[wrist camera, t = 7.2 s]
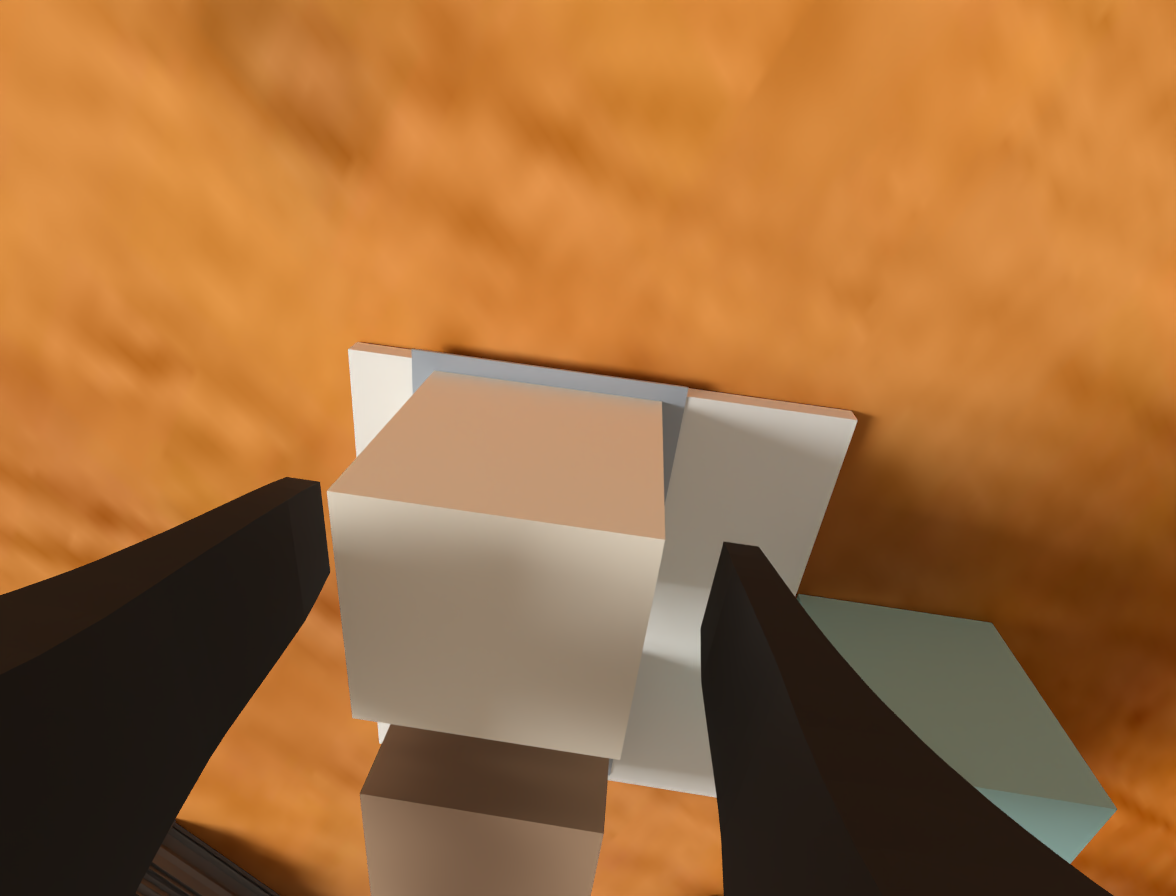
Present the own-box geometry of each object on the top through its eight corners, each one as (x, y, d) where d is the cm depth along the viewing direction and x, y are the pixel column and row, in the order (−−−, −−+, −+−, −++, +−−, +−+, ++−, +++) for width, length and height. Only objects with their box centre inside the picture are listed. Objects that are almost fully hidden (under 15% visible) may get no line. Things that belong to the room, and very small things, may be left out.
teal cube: (990, 620, 14) (1117, 809, 10) (920, 744, 17) (1003, 940, 13) (797, 591, 15) (851, 767, 11) (752, 718, 17) (783, 904, 13)
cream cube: (662, 401, 12) (665, 539, 8) (629, 580, 14) (620, 760, 10) (434, 370, 12) (326, 491, 8) (436, 552, 14) (352, 717, 10)
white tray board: (854, 401, 12) (861, 412, 12) (722, 783, 18) (724, 800, 17) (357, 332, 12) (345, 340, 12) (385, 729, 18) (378, 744, 18)
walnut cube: (617, 646, 15) (603, 833, 11) (595, 763, 17) (578, 954, 13) (436, 619, 15) (359, 793, 11) (437, 737, 17) (373, 919, 13)
